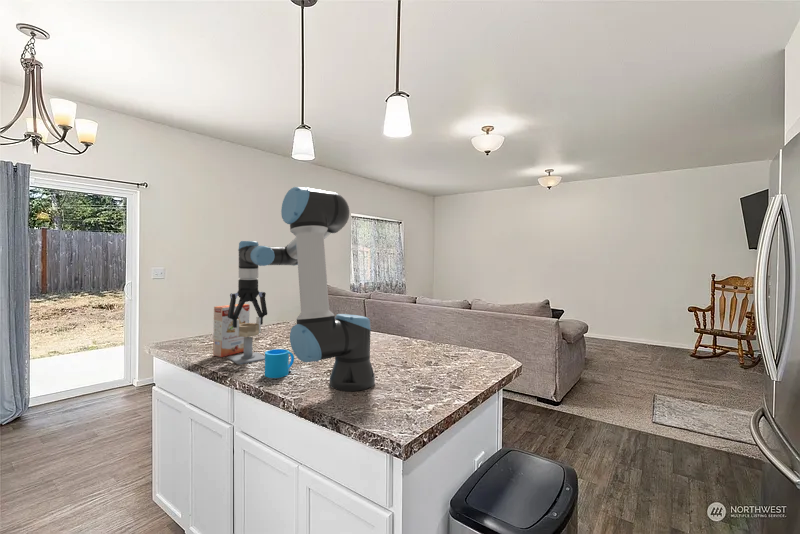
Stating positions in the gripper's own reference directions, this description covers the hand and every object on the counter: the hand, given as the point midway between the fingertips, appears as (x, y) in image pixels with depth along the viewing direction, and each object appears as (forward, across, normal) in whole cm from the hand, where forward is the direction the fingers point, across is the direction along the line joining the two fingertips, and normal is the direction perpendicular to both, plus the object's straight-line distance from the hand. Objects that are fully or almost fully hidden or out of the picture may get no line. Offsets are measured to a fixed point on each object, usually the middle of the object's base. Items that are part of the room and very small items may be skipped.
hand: (247, 334), depth 153 cm
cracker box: (+11, +2, -13) cm, 17 cm away
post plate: (+10, 0, 0) cm, 10 cm away
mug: (+10, -2, +26) cm, 28 cm away
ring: (0, 0, 0) cm, 0 cm away
